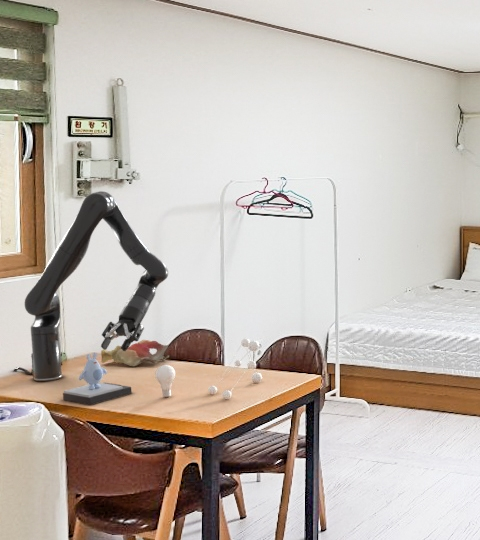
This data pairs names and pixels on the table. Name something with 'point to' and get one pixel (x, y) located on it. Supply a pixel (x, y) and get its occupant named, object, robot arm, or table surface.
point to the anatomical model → (136, 353)
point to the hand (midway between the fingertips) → (113, 349)
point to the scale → (96, 393)
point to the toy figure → (92, 372)
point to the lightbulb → (165, 378)
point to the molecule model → (255, 376)
